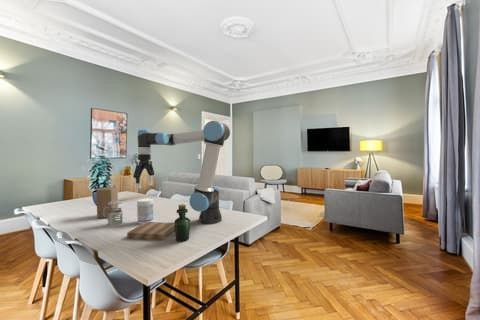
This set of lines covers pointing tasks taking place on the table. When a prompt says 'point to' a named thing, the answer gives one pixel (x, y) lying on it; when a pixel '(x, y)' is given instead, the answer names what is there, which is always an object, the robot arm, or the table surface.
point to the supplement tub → (145, 210)
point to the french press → (116, 212)
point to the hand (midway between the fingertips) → (144, 186)
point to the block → (106, 200)
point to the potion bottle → (182, 224)
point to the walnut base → (151, 231)
